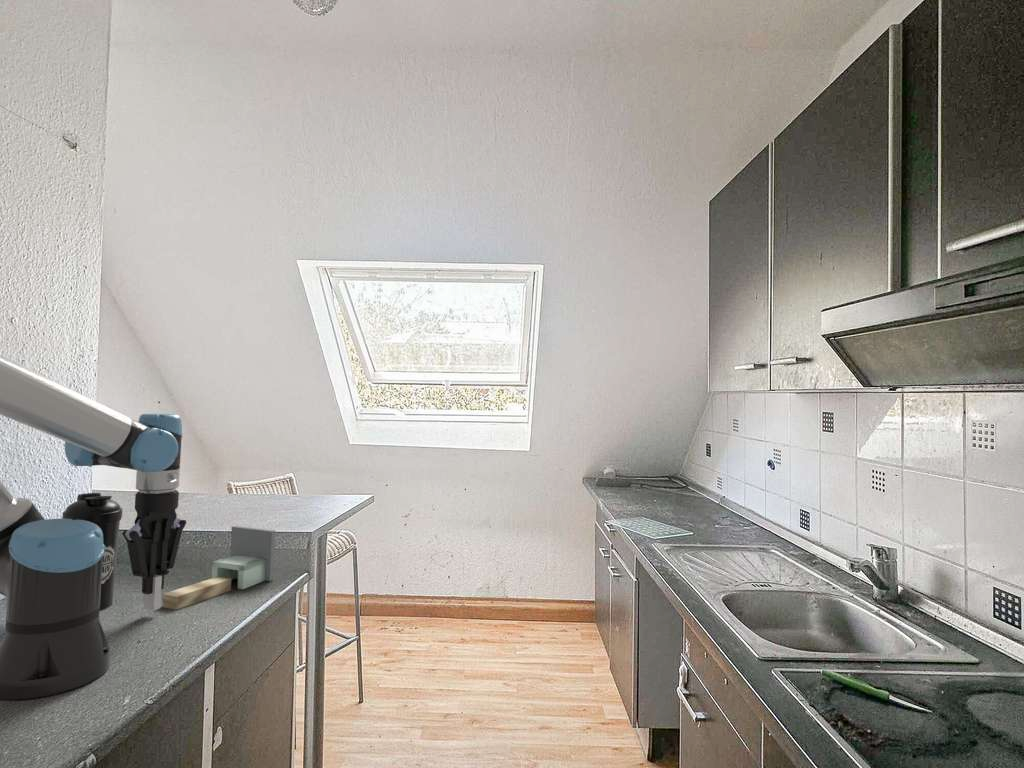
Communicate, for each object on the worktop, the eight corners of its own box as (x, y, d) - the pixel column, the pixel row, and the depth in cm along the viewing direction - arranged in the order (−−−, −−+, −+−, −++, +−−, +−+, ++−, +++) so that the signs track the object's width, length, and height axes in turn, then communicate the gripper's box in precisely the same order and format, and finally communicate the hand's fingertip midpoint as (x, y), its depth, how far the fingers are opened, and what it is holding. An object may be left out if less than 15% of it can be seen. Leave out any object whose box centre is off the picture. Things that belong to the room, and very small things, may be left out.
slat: (176, 611, 122) (176, 596, 122) (162, 608, 123) (162, 593, 123) (230, 591, 135) (231, 578, 135) (217, 589, 136) (218, 576, 136)
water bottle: (66, 619, 114) (73, 500, 115) (49, 606, 121) (56, 494, 121) (125, 606, 123) (131, 495, 123) (106, 595, 129) (112, 489, 130)
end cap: (248, 590, 135) (250, 537, 136) (206, 583, 139) (208, 532, 139) (273, 580, 143) (275, 530, 144) (232, 574, 147) (235, 525, 147)
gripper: (143, 496, 111) (136, 622, 110) (198, 487, 124) (193, 600, 123) (113, 493, 113) (106, 616, 113) (170, 484, 126) (165, 596, 125)
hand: (151, 608), depth 118 cm, fingers closed
